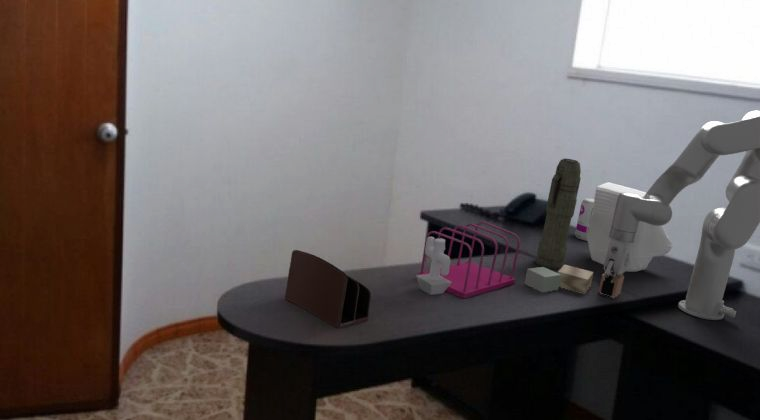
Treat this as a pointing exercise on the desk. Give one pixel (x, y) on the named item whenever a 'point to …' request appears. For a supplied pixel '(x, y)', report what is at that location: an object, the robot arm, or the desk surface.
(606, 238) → the white rounded piece
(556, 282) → the sage block
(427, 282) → the figurine
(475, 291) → the file sorter
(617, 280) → the terracotta block
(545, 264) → the thermos
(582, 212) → the supplement can
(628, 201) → the robot arm
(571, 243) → the desk surface
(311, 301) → the letter holder
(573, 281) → the maple block
